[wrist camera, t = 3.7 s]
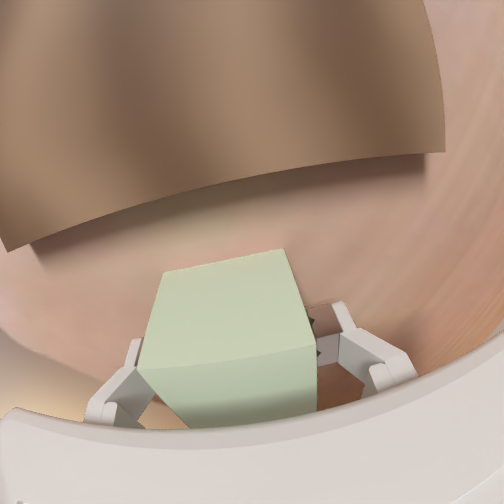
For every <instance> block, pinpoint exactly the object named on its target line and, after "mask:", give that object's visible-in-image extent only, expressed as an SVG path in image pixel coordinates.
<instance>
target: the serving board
mask: <svg viewBox="0 0 504 504" xmlns="http://www.w3.org/2000/svg"><path fill="white" fill-rule="evenodd" d="M436 152H445V118H444V104H443V94H442V85H441V78H440V71H439V65H438V59H437V54H436V49H435V44H434V40H433V35H432V31H431V27H430V23H429V20H428V16H427V13H426V10H425V6H424V3H423V0H0V238H1V240H2V242H3V244H4V246H5V248H6V250H7V252H10V251H13V250H15V249H17V248H19V247H22V246H24V245H26V244H29V243H31V242H34V241H36V240H39V239H41V238H44V237H46V236H49V235H51V234H54V233H56V232H59V231H62V230H64V229H67V228H70V227H73V226H75V225H78V224H81V223H84V222H87V221H89V220H92V219H95V218H98V217H101V216H104V215H107V214H110V213H114V212H117V211H120V210H123V209H126V208H129V207H133V206H136V205H139V204H143V203H146V202H150V201H153V200H157V199H160V198H164V197H168V196H171V195H175V194H179V193H183V192H186V191H190V190H194V189H198V188H202V187H207V186H211V185H215V184H219V183H224V182H228V181H233V180H237V179H242V178H247V177H251V176H256V175H261V174H267V173H272V172H277V171H283V170H288V169H294V168H300V167H306V166H312V165H319V164H325V163H332V162H340V161H347V160H355V159H364V158H373V157H382V156H393V155H405V154H419V153H436Z"/></svg>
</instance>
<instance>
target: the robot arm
mask: <svg viewBox="0 0 504 504" xmlns="http://www.w3.org/2000/svg"><path fill="white" fill-rule="evenodd" d="M306 314H307V317H308V320H309V323H310V326H311V329H312V332H313V335H314V338H315V341H316V356H317V366H318V367H319V366H323V365H327V364H332V363H336V362H338V363H339V364H340V365H341V366H342V367H344V368H345V369H346V370H347V371H349V372H350V373H351V374H352V375H354V376H355V377H356V378H358V379H359V380H360V381H361V382H363V383H364V384H365V385H364V389H363V392H362V396H361V399H360V400H357V401H354V402H350V403H347V404H344V405H340V406H337V407H333V408H329V409H325V410H321V411H317V412H313V413H309V414H305V415H300V416H295V417H290V418H285V419H280V420H274V421H268V422H261V423H254V424H247V425H238V426H229V427H218V428H202V429H145V427H144V426H142V425H141V424H140V423H139V422H138V421H137V420H138V419H139V417H140V416H141V414H142V413H143V412H144V410H145V409H146V407H147V406H148V404H149V403H150V401H151V400H152V398H153V397H154V395H155V394H156V392H155V391H154V390H153V389H152V388H151V387H150V385H149V384H148V383H147V382H146V381H145V380H144V378H143V377H142V376H141V375H140V374H139V372H138V371H137V370H136V369H137V365H138V360H139V356H140V352H141V349H142V345H143V341H144V337H142V338H133V339H132V340H131V343H130V347H129V350H128V353H127V357H126V360H125V364H124V367H121V368H120V369H119V370H118V371H117V372H116V373H115V374H114V375H113V376H112V377H111V378H110V379H109V380H108V381H107V382H106V383H105V384H104V385H103V386H102V387H101V388H100V389H99V390H98V391H97V392H96V393H95V394H94V395H93V396H92V398H91V399H90V400H89V403H88V406H87V410H86V414H85V417H84V421H83V422H77V421H71V420H66V419H61V418H57V417H52V416H48V415H44V414H40V413H36V412H32V411H28V410H25V409H22V408H18V407H15V408H13V409H12V410H10V411H9V412H8V413H7V414H6V415H5V416H4V417H3V418H1V419H0V504H504V330H503V331H501V332H499V333H498V334H497V335H495V336H494V337H492V338H490V339H489V340H487V341H486V342H484V343H482V344H481V345H479V346H477V347H476V348H474V349H472V350H471V351H469V352H467V353H465V354H464V355H462V356H460V357H458V358H456V359H455V360H453V361H451V362H449V363H447V364H445V365H443V366H441V367H439V368H437V369H435V370H433V371H431V372H429V373H426V374H424V375H422V376H420V377H419V376H418V374H417V372H416V370H415V369H414V367H413V365H412V363H411V361H410V359H409V357H408V356H407V354H406V352H404V351H402V350H400V349H398V348H396V347H395V346H393V345H391V344H389V343H387V342H385V341H384V340H382V339H380V338H378V337H376V336H375V335H373V334H371V333H369V332H367V331H366V330H364V329H362V328H356V326H355V323H354V321H353V319H352V317H351V316H350V314H349V312H348V310H347V308H346V306H345V304H344V302H343V301H338V302H335V303H331V304H327V305H323V306H319V307H315V308H311V309H307V310H306Z"/></svg>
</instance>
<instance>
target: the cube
mask: <svg viewBox="0 0 504 504" xmlns="http://www.w3.org/2000/svg"><path fill="white" fill-rule="evenodd" d="M136 370H137V371H138V372H139V374H140V375H141V376H142V377H143V378H144V380H145V381H146V382H147V383H148V384H149V385H150V387H151V388H152V389H153V390H154V391H155V392H156V393H157V395H158V396H159V397H160V398H161V399H162V400H163V401H164V402H165V403H166V404H167V405H168V407H169V408H170V409H171V410H172V411H173V412H174V413H175V414H176V415H177V416H178V417H179V418H180V419H181V420H182V421H183V422H184V423H185V424H186V425H187V426H188V427H189V428H190V429H202V428H218V427H229V426H238V425H247V424H254V423H261V422H268V421H274V420H280V419H285V418H290V417H295V416H300V415H305V414H309V413H313V412H317V356H316V341H315V338H314V335H313V332H312V329H311V326H310V323H309V320H308V317H307V314H306V311H305V308H304V305H303V303H302V300H301V297H300V294H299V291H298V288H297V285H296V282H295V280H294V277H293V274H292V271H291V268H290V265H289V263H288V260H287V257H286V254H285V251H284V249H283V248H282V249H277V250H272V251H267V252H262V253H257V254H252V255H247V256H243V257H238V258H233V259H228V260H223V261H218V262H213V263H208V264H203V265H199V266H194V267H189V268H184V269H179V270H174V271H169V272H164V273H163V276H162V279H161V282H160V286H159V289H158V292H157V295H156V299H155V302H154V305H153V309H152V312H151V315H150V319H149V323H148V326H147V330H146V333H145V337H144V341H143V345H142V349H141V352H140V356H139V360H138V365H137V369H136Z"/></svg>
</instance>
